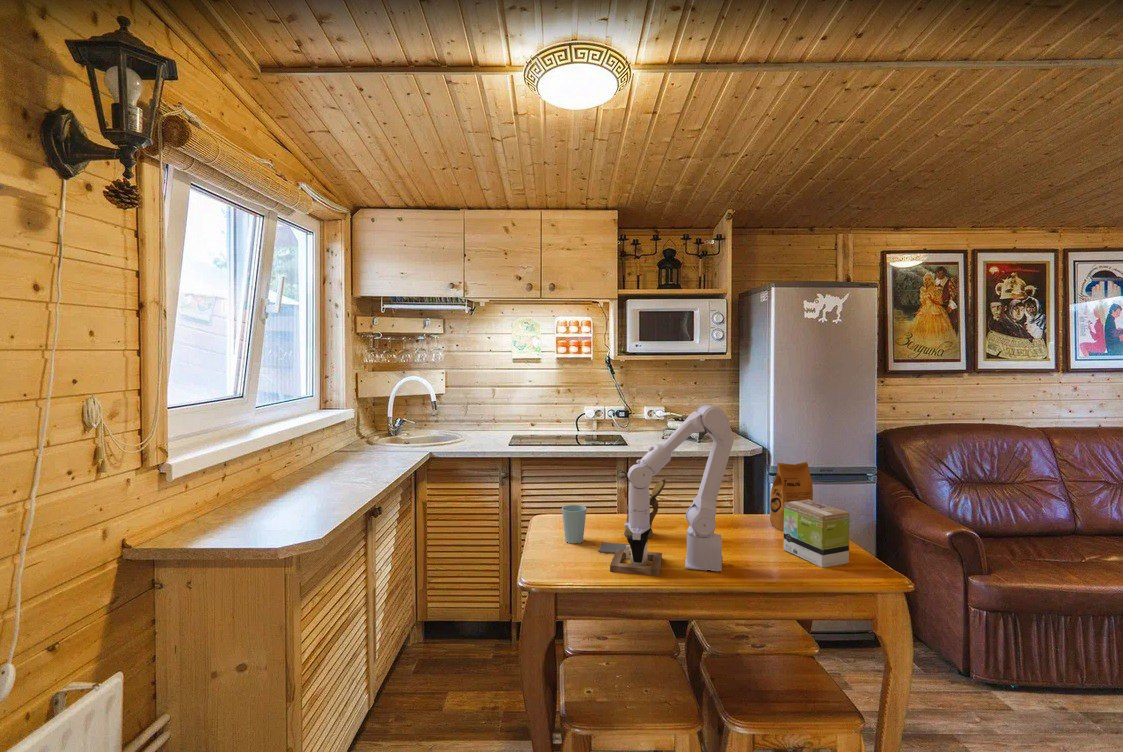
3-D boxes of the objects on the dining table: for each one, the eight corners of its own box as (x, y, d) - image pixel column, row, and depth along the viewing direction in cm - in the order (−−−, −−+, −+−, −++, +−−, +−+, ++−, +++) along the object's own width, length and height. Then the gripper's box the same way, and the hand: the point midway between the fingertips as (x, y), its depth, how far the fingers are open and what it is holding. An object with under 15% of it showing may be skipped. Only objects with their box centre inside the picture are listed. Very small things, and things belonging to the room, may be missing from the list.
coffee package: (766, 523, 190) (766, 460, 189) (801, 522, 191) (801, 459, 190) (779, 532, 180) (780, 465, 179) (816, 531, 181) (817, 464, 180)
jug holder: (662, 558, 157) (662, 552, 157) (659, 575, 144) (659, 569, 144) (616, 554, 160) (616, 549, 160) (609, 571, 147) (609, 565, 147)
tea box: (781, 550, 163) (782, 501, 162) (808, 546, 166) (808, 498, 166) (822, 569, 149) (823, 514, 148) (850, 564, 152) (851, 510, 152)
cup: (576, 546, 166) (576, 512, 166) (556, 541, 171) (556, 508, 171) (591, 540, 172) (591, 507, 172) (571, 535, 177) (571, 503, 177)
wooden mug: (669, 538, 174) (669, 482, 173) (627, 540, 173) (627, 483, 172) (661, 530, 183) (662, 476, 182) (621, 531, 182) (621, 477, 181)
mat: (628, 545, 167) (628, 544, 167) (625, 554, 160) (625, 553, 160) (602, 543, 169) (602, 542, 169) (598, 552, 162) (598, 550, 162)
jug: (648, 562, 153) (648, 539, 153) (646, 568, 149) (646, 545, 149) (627, 561, 155) (627, 538, 155) (625, 567, 150) (625, 543, 150)
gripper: (627, 501, 159) (627, 547, 160) (621, 515, 145) (621, 566, 146) (652, 502, 158) (652, 549, 158) (648, 516, 144) (648, 568, 144)
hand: (639, 557), depth 152 cm, fingers open, 6 cm apart
